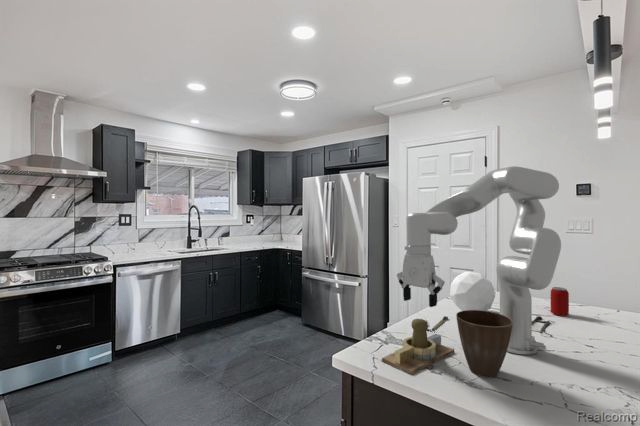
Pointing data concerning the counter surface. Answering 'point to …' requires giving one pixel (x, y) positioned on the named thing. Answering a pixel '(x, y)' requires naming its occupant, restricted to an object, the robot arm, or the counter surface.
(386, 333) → the counter surface
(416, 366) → the board with octagonal collar
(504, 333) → the plant pot
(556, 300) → the beverage can
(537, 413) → the counter surface
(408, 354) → the ring bracket
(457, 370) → the counter surface
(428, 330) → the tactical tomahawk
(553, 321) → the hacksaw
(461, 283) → the ball
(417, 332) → the cork
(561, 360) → the counter surface
